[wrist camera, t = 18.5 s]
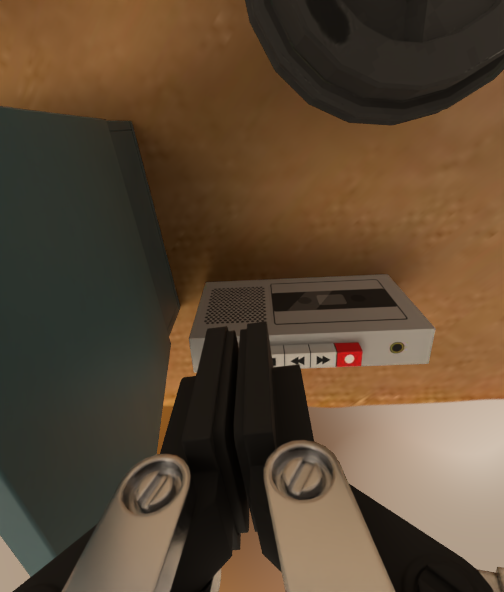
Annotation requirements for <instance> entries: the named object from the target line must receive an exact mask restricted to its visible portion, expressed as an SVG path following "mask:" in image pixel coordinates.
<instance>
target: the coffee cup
mask: <svg viewBox="0 0 504 592" xmlns="http://www.w3.org/2000/svg"><path fill="white" fill-rule="evenodd" d="M245 2H246V7H247V12H248V16H249V21H250V24H251V26H252V28H253V30H254V32H255V33H256V35H257V37H258V39H259V41H260V43H261V45H262V47H263V49H264V51H265V53H266V55H267V57H268V58H269V60H270V62H271V64H272V66H273V68H274V70H275V71H276V72H277V73H278V74H279V75H280V76H281V77H282V78H283V79H284V80H285V81H286V82H287V83H288V84H289V85H290V86H291V87H292V88H293V89H294V90H295V91H296V92H297V93H298V94H299V95H300V96H301V97H302V98H303V99H304V100H305V101H306V102H307V103H308V104H309V105H312V106H314V107H316V108H318V109H320V110H322V111H325V112H327V113H329V114H331V115H333V116H336V117H338V118H340V119H342V120H344V121H347V122H349V123H363V124H378V125H396V124H400V123H403V122H407V121H410V120H414V119H418V118H421V117H425V116H429V115H432V114H436V113H438V112H440V111H442V110H444V109H447V108H449V107H451V106H452V105H454V104H455V103H457V102H459V101H460V100H462V99H463V98H465V97H467V96H468V95H470V94H471V93H473V92H475V91H476V90H478V89H479V88H481V87H483V86H484V85H486V84H487V83H489V82H491V81H492V80H494V79H495V78H496V77H497V76H498V75H499V74H500V73H501V72H502V71H503V70H504V0H245Z"/></svg>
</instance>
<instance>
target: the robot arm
mask: <svg viewBox="0 0 504 592" xmlns="http://www.w3.org/2000/svg"><path fill="white" fill-rule="evenodd" d="M249 508H250V512H251V516H252V520H253V525H254V529H255V532H258V536H259V541H260V545H261V549H262V554H263V555H264V556H265V557H266V558H268V560H270V561H271V562H272V563H273V564H274V565H275V566H276V567H277V568H278V569H279V570H280V571H281V572H282V576H283V581H284V585H285V591H286V592H504V568H501V567H497V570H496V573H494V572H489V571H482V570H477V569H476V568H474V567H473V566H472V565H471V564H469V563H468V562H467V561H466V560H465V559H463V558H462V557H460V556H459V555H457V554H456V553H454V552H453V551H451V550H450V549H448V548H447V547H445V546H443V545H442V544H440V543H439V542H437V541H436V540H434V539H433V538H431V537H430V536H428V535H426V534H425V533H423V532H422V531H420V530H419V529H417V528H416V527H414V526H413V525H411V524H410V523H408V522H407V521H405V520H404V519H402V518H401V517H399V516H398V515H396V514H395V513H393V512H391V511H390V510H388V509H386V508H385V507H384V506H382V505H381V504H379V503H377V502H376V501H375V500H373V499H372V498H370V497H369V496H367V495H365V494H364V493H362V492H361V491H359V490H358V489H356V488H355V487H353V486H352V485H350V484H349V483H348V481H347V479H346V477H345V474H344V472H343V470H342V467H341V465H340V463H339V461H338V460H337V458H336V456H335V455H334V453H333V452H331V451H330V450H329V449H328V448H326V447H325V446H323V445H321V444H319V443H316V442H314V439H313V433H312V429H311V423H310V417H309V412H308V406H307V401H306V396H305V390H304V385H303V379H302V374H301V369H300V364H297V365H288V366H280V367H273V361H272V354H271V347H270V340H269V334H268V327H267V322H266V321H265V322H256V323H248V324H247V329H241V330H240V340H239V347H238V342H237V336H236V332H235V330H233V331H229V330H228V327H227V326H224V327H216V328H208V329H207V331H206V335H205V340H204V344H203V348H202V353H201V357H200V361H199V366H198V370H197V374H196V376H192V377H184V378H183V379H182V380H181V382H180V386H179V389H178V393H177V396H176V400H175V403H174V407H173V410H172V414H171V417H170V421H169V424H168V428H167V431H166V435H165V438H164V442H163V445H162V449H161V452H160V454H158V455H154V456H151V457H148V458H145V459H144V460H142V461H140V462H139V463H137V464H136V465H134V466H133V467H132V468H131V469H130V470H129V471H128V472H127V473H126V474H125V475H124V477H123V478H122V480H121V481H120V483H119V484H118V486H117V488H116V490H115V492H114V494H113V496H112V497H111V499H110V501H109V503H108V505H107V507H106V509H105V511H104V513H103V514H102V516H101V518H100V520H99V522H98V524H96V525H95V526H94V527H93V528H91V529H90V530H89V531H88V532H86V533H85V534H84V535H83V536H81V537H80V538H79V539H78V540H76V541H75V542H74V543H73V544H71V545H70V546H69V547H68V548H66V549H65V550H64V551H63V552H61V553H60V554H59V555H58V556H57V557H55V558H54V559H53V560H52V561H50V562H49V563H48V564H47V565H45V566H44V567H43V568H42V569H40V570H39V571H38V572H37V573H35V574H34V575H33V576H32V577H30V578H29V579H28V580H27V581H25V582H24V583H23V584H22V585H20V587H18V588H17V589H16V590H14V591H13V592H219V587H220V581H221V568H222V566H223V565H224V564H225V563H226V562H227V561H228V560H229V559H230V558H231V556H232V550H240V536H241V533H247V532H248V531H249Z"/></svg>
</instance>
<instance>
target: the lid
mask: <svg viewBox="0 0 504 592" xmlns="http://www.w3.org/2000/svg"><path fill="white" fill-rule="evenodd" d="M170 347H171V342H170V339H169V335H168V332H167V328H166V325H165V322H164V318H163V315H162V311H161V308H160V304H159V301H158V297H157V294H156V290H155V287H154V284H153V280H152V277H151V273H150V270H149V266H148V263H147V259H146V256H145V252H144V249H143V246H142V242H141V239H140V235H139V232H138V228H137V225H136V221H135V218H134V214H133V211H132V207H131V204H130V201H129V197H128V194H127V190H126V187H125V183H124V180H123V176H122V173H121V169H120V166H119V163H118V159H117V156H116V152H115V149H114V145H113V142H112V138H111V135H110V131H109V128H108V124H107V121H106V120H105V119H98V118H90V117H82V116H74V115H66V114H58V113H50V112H42V111H35V110H27V109H19V108H11V107H3V106H0V536H1V537H2V538H3V540H4V541H5V542H6V544H7V545H8V546H9V548H10V549H11V551H12V552H13V553H14V555H15V556H16V557H17V559H18V560H19V561H20V563H21V564H22V565H23V567H24V568H25V570H26V571H27V572H28V574H29V575H30V576H31V577H32V576H33V575H34V574H35V573H37V572H38V571H39V570H40V569H42V568H43V567H44V566H45V565H47V564H48V563H49V562H50V561H52V560H53V559H54V558H55V557H57V556H58V555H59V554H60V553H61V552H63V551H64V550H65V549H66V548H68V547H69V546H70V545H71V544H73V543H74V542H75V541H76V540H78V539H79V538H80V537H81V536H83V535H84V534H85V533H86V532H88V531H89V530H90V529H91V528H93V527H94V526H95V525H96V524H98V522H99V520H100V518H101V516H102V514H103V513H104V511H105V509H106V507H107V505H108V503H109V501H110V499H111V497H112V496H113V494H114V492H115V490H116V488H117V486H118V484H119V483H120V481H121V480H122V478H123V477H124V475H125V474H126V473H127V472H128V471H129V470H130V469H131V468H132V467H133V466H134V465H136V464H137V463H139V462H140V461H142V460H144V459H145V458H148V457H151V456H154V455H156V454H157V446H158V439H159V431H160V424H161V416H162V408H163V401H164V393H165V385H166V377H167V370H168V362H169V354H170Z"/></svg>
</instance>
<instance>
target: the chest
mask: <svg viewBox="0 0 504 592" xmlns="http://www.w3.org/2000/svg"><path fill="white" fill-rule="evenodd" d="M107 124H108V128H109V131H110V135H111V138H112V142H113V145H114V149H115V152H116V156H117V159H118V163H119V166H120V169H121V173H122V176H123V180H124V183H125V187H126V190H127V194H128V197H129V201H130V204H131V207H132V211H133V214H134V218H135V221H136V225H137V228H138V232H139V235H140V239H141V242H142V246H143V249H144V252H145V256H146V259H147V263H148V266H149V270H150V273H151V277H152V280H153V284H154V287H155V290H156V294H157V297H158V301H159V304H160V308H161V311H162V315H163V318H164V322H165V325H166V328H167V332H168V335H170V333H171V330H172V328H173V325H174V322H175V320H176V317H177V315H178V312H179V310H180V304H179V300H178V296H177V292H176V288H175V285H174V281H173V277H172V273H171V269H170V266H169V262H168V258H167V254H166V250H165V246H164V243H163V239H162V235H161V231H160V227H159V224H158V220H157V216H156V212H155V208H154V204H153V201H152V197H151V193H150V189H149V185H148V182H147V178H146V174H145V170H144V166H143V162H142V159H141V155H140V151H139V147H138V143H137V140H136V136H135V132H134V128H133V124H132V121H107Z"/></svg>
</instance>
